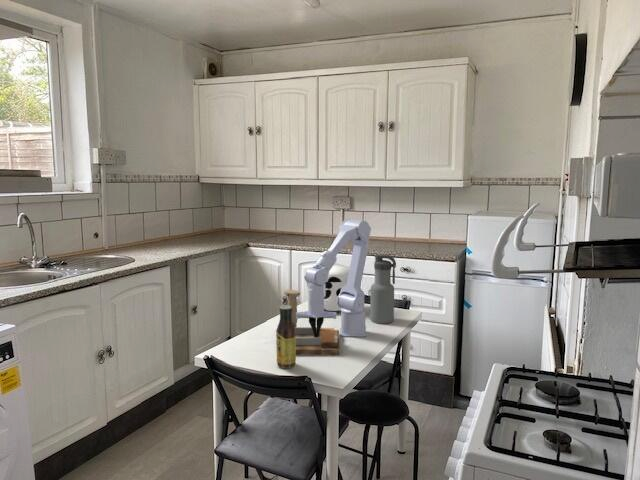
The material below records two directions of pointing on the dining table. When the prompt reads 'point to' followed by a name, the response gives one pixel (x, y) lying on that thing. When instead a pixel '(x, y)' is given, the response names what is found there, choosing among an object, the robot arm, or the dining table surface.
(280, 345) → the sauce bottle
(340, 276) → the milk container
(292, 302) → the handle
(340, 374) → the dining table surface
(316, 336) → the robot arm
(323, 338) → the block
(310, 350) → the board
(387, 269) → the water bottle
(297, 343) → the gray rectangular frame
